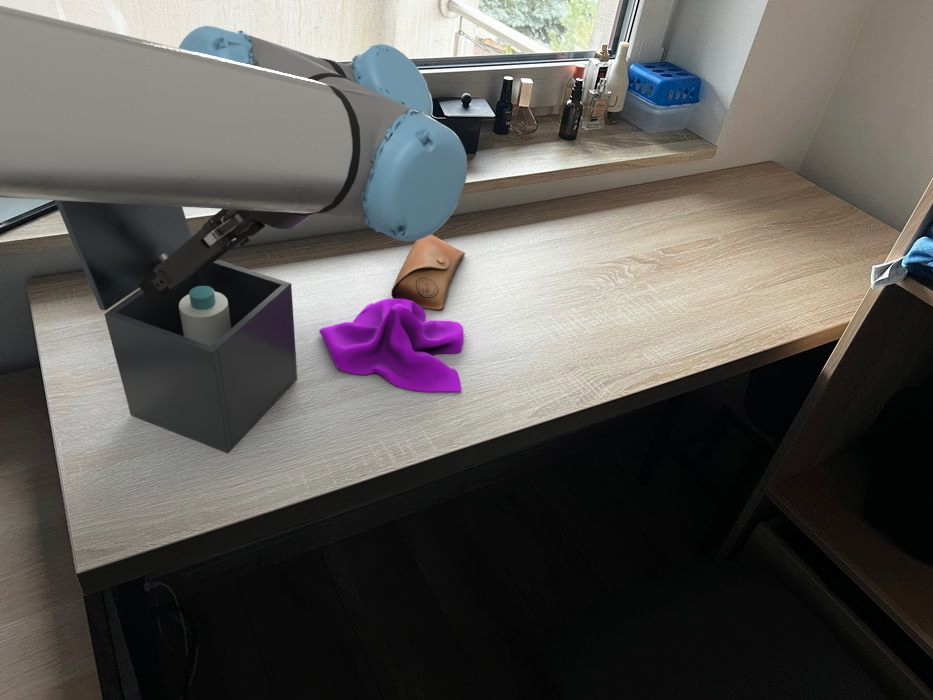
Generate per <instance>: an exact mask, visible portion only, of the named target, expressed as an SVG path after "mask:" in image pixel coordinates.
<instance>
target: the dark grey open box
mask: <svg viewBox="0 0 933 700" xmlns="http://www.w3.org/2000/svg"><path fill="white" fill-rule="evenodd" d="M198 286H208V287H211V288H212V289H213V290H214V291H215V292H219V293H221V294H223V295H224V296H225V297H226V298H227V300H228V307H229V315H230V322H231V329H230V330H229V331H228V332H227V333H226V334H224V335H223V336H222V337H221V338H220V339H219V340H218V341H216V342H215V343H214V344H213V345H212V346H209V345H206V344H203V343H200V342H198V341H195V340H192V339H189V338H186V337H184V333H183V328H182V322H181V317H180V311H179V303H180V301H181V299H182V298H184V297H185V296H186V295H188V294H189V292H190V290H191V289H193V288H195V287H198ZM103 315H104V318H105V322H106V326H107V330H108V335H109V337H110V341H111V342H110V343H111V345H112V349H113V353H114V356H115V361H116V364H117V368H118V372H119V375H120V379H121V382H122V387H123V391H124V395H125V399H126V402H127V403H126V404H127V407H128V409H129V414H130V416H132V417H135V418H137V419H139V420H142V421H144V422H147V423H150V424H152V425H155V426H157V427H160V428H163V429H165V430H166V431H169V432H173V433H175V434H177V435H180V436H183V437H185V438H188V439H190V440H194V441H195V442H198V443H201V444H203V445H206V446H208V447H211V448H213V449H217V450H219V451H221V452H224V453H226V454H229V453H230V452H231V451H232V450H233V449H234V448H235V447H236V446H237V445H238V443H239V442H241V440H242V439H244V437H245V436H246V435H247V434H248V433H249V432H250V430H251V429H252V428H254V426H255V425H256V424H257V423H258V421H260V420H261V419H262V418H263V416H265V415H266V414H267V413H268V411H269V410H270V409H271V408H272V407H273V406H274V405H275V403H277V401H278V400H279V399H280V398H281V397H282V396H283V395H284V394H285V393H286V392H287V391H288V390H289V389H290V388H291V387H292V386H293V384H294V383H295V382H296V381H297V380H298V369H297V368H298V367H297V366H298V365H297V351H296V337H295V335H296V334H295V319H294V303H293V287H292V283H291V282H288V281H286V280H282V279H279V278H276V277H273V276H270V275H267V274H263V273H261V272H257V271H254V270H251V269H247V268H245V267H241V266H238V265H235V264H232V263H229V262H226V261H223V260H219V259H217V260H216V261H215V262H213V263H212V264H211V265H210V266H208V267H207V268H206V269H204V270H203V271H202V270H201V269H200V268H199V269H198V270H196V271H195V272H194V273H193V274H191V275H190V278H189V279H188V280H187V281H185V282H184V283H183V284H182V285H180V286H179V287H178V288H177V289H176V290H174V291H173V292H172V293H171V294H169V295H168V296H167V297H166V298H164V299H163V300H162V301H161V302H159V303H158V304H157V305H155V304H154V303H153V302H152V301H151V299H150V298H149V297H148V296H147V295H146V294H145V293H144V292H143V291H142V290H141V288H139V289H137V290H136V291H134V292H133V293H131V295H128V296H127V297H126V298H124V300H121V301H120V302H118V303H117V305H116V304H115V305H114V307H111V309H109V310H108V311H106V312H105V313H103Z"/></svg>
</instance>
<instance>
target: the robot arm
mask: <svg viewBox="0 0 933 700" xmlns="http://www.w3.org/2000/svg"><path fill="white" fill-rule="evenodd" d="M432 115H433V99H432V95H431V93H430V90H429V88H428V83H427V81H426V80H425V77H424V76H423V74H422V73H421V71H420V70H419V67H417V66H416V65H415V63H414V62H413V61H412V60H411V59H410V58H409V57H408V56H407V55H406V54H404V52H402V51H400V50H399V49H398V48H396V47H394V46H392V45H388V44H385V43H379V44H374V45H371V46H369V47H368V48H366V49H365V50H363V51H362V52H361V53H357V54H356V55H354V56H353V58H352V60H351V62H349V63H342V62H338V61H336V60H332V59H328V58H322V57H316V56H314V55H311V54H308V53H304V52H301V51H298V50H295V49H292V48H289V47H286V46H283V45H280V44H278V43H274V42H271V41H268V40H264V39H263V38H259V37H256V36H252V35H249V34H247V32H245V31H243V30H239V31H234V30H231V29H227V28H226V29H225V28H222V27H217V26H213V25H204V26H200V27H196V28H194V29H193V30H191V31H190V32H189V33H188V34H187V35H186V36H185V37H184V38H183V39H182V40H181V43H180V44H179V46H178V47H176V46H172V45H168V44H164V43H159V42H154V41H152V40H147V39H142V38H138V37H134V36H130V35H126V34H121V33H117V32H114V31H109V30H104V29H100V28H96V27H92V26H88V25H83V24H81V23H76V22H71V21H66V20H62V19H58V18H55V17H50V16H46V15H42V14H38V13H35V12H34V13H33V12H29V11H25V10H21V9H17V8H12V7H8V6H5V5H0V198H5V199H6V198H7V199H26V200H42V201H43V200H46V201H55V200H62V201H82V202H101V203H120V204H139V205H158V206H177V207H182V208H196V209H197V208H198V209H215V210H217V209H219V211H217V212H216V213H215V214H214V215H213V216H211V217H210V218H208V220H207V222H205V223H203V225H202V227H201V228H199V230H198V231H197V232H196V233H194V235H193V236H191V237H192V238H190V239H189V240H188V241H187V242H186V243H184V244H183V245H182V246H181V247H180V248H179V249H177V250H176V251H175V252H174V253H173V254H171V255H170V256H169V257H168V256H167V255H166V254H165V253H164V254H162V255H161V256H159V257H158V258H157V259H158V260H159V261H160V262H161V264H158V265H157V266H155V268H154V270H153V272H152V273H151V274H150V275H149V276H148V277H147V278H145V279H144V280H143V281H142V282H141V283H140V284H139V285H138V286H139V289H141V290H142V291H143V292H144V293H145V294H146V295H147V296H148V297H149V298H150V299H151V301H152V302H153V303H154V304H155V305H157V304H158V303H159V302H161V301H162V300H163V299H164V298H166V297H167V296H168V295H169V294H171V293H172V292H173V291H174V290H176V289H177V288H178V287H179V286H180V285H182V284H183V283H184V282H185V281H187V280H188V279H189V278H190V275H191V274H193V273H194V272H195V271H196V270H198V269H199V268H200V269H201V270H202V271H203V270H204V269H206V268H207V267H208V266H210V265H211V264H212V263H213V262H215V261H216V260H219V259H220V258H221V257H222V256H223V255H225V254H226V253H228V251H230V250H232V249H234V248H235V247H237V246H238V245H240V247H244V246H245V245H247V244H248V243H249V242H251V239H250V238H249V237H253V236H256V234H258V233H259V232H261V231H262V230H263V229H264V228H266V227H267V226H268V227H271V228H274V229H278V230H291V229H295V228H297V227H299V226H300V225H301V224H303V223H304V222H305V221H307V220H308V219H309V218H311V217H312V216H313V215H326V216H341V217H351V218H354V219H358V220H361V221H363V222H364V223H365V225H367V226H368V227H369V228H370V229H371V230H374V231H375V232H376V233H382V234H384V235H386V236H389V237H391V238H393V239H394V240H397V241H401V242H402V241H403V242H414V241H416V240H420V239H422V238H425V237H427V236H429V235H433V234H434V233H435V232H437V231H438V230H440V228H441V227H442V226H443V225H444V224H446V223H447V221H448V220H449V219H450V218H451V216H452V215H453V214H454V212H455V210H456V209H457V206H458V205H459V203H460V200H461V199H460V197H461V194H462V193H463V188H464V187H465V184H466V183H467V177H468V176H467V175H468V157H467V153H466V149H465V146H464V145H463V143H462V141H461V138H459V136H458V135H457V134H456V133H455V131H453V129H451V128H449V127H448V126H446V125H444V124H442V123H441V122H439V121H437V120H436V119H434V118H433V117H432Z"/></svg>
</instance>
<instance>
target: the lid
mask: <svg viewBox="0 0 933 700" xmlns="http://www.w3.org/2000/svg"><path fill="white" fill-rule="evenodd" d="M54 202H55V204H56V207H57V209H58V211H59V214H60V216H61V218H62V221H63V223H64V226H65V228H66V231H67V233H68V234H69V238H70V241H71V243H72V245H73V248H74V250H75V252H76V255H77V257H78V259H79V262H80V264H81V266H82V269H83V271H84V274H85V276H86V279H87V281H88V284H89V286H90V288H91V291H92V293H93V295H94V298H95V300H96V303H97V305H98V307H99V309H100V310H101V311H107V310H110V308H113V306H116V304H118V303H120V302H121V301H123V299H126V298H127V297H129V296H130V294H131V295H132V294H133V293H134V292H136V291H137V290H139V289H140V287H139V286H138V285H139V284H140V283H141V282H142V281H143V280H144V279H145V278H147V277H148V276H149V275H150V274H151V273H152V272H153V270H154V268H155V266H157V265H158V264H161V262H160V261H159V260H158V259H157V258H158V257H159V256H161V255H162V254H164V253H165V254H166V255H167V256H168V257H169V256H170V255H171V254H173V253H174V252H175V251H176V250H177V249H179V248H180V247H181V246H182V245H183V244H184V243H186V242H187V241H188V240H189V239H190V238H192V237H193V236H192V234H191V230H190V227H189V225H188V220H187V218H186V215H185V211H184V209H183V208H184V207H177V206H158V205H139V204H120V203H101V202H82V201H62V200H54Z"/></svg>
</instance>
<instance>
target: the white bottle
mask: <svg viewBox="0 0 933 700" xmlns="http://www.w3.org/2000/svg"><path fill="white" fill-rule="evenodd" d="M179 311H180V317H181V322H182V328H183V333H184V337H186V338H189V339H192V340H195V341H198V342H200V343H203V344H206V345H209V346H212V345H213V344H214V343H215V342H216V341H218V340H219V339H220V338H221V337H222V336H223V335H224V334H226V333H227V332H228V331H229V330H230V329H231V322H230V315H229V307H228V300H227V298H226V297H225V296H224V295H223V294H221V293H219V292H215V291H214V290H213V289H212V288H211V287H208V286H198V287H195V288H193V289H191V290H190V292H189V294H188V295H186V296H185V297H184V298H182V299H181V301H180V303H179Z"/></svg>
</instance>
